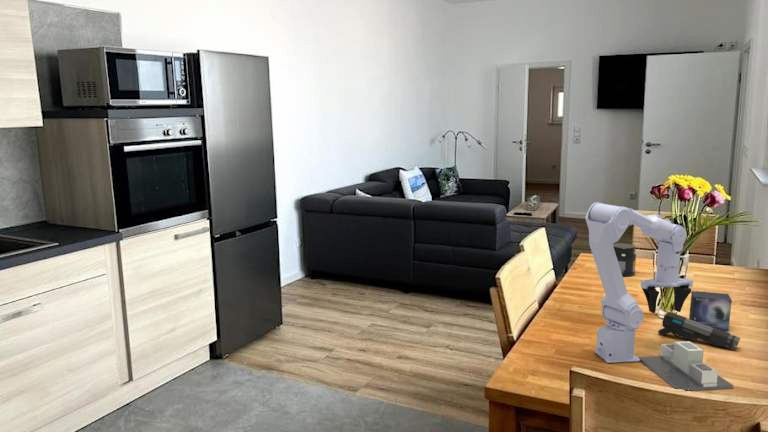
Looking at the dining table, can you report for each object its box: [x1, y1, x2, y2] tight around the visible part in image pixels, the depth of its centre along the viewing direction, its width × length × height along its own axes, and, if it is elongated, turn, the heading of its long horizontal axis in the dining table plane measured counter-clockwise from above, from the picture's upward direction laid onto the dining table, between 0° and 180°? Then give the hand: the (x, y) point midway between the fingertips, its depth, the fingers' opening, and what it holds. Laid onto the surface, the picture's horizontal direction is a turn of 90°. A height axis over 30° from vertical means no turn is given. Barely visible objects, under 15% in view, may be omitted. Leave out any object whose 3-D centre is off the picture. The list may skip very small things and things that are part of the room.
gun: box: [657, 311, 741, 351], centre depth 174 cm, size 4×20×10 cm, turn 52°
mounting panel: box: [637, 342, 734, 391], centre depth 153 cm, size 14×19×5 cm
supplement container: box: [613, 243, 637, 277], centre depth 248 cm, size 10×10×12 cm
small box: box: [688, 290, 733, 333], centre depth 186 cm, size 11×6×10 cm, turn 70°
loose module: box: [673, 340, 704, 373], centre depth 153 cm, size 4×6×6 cm, turn 6°
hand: (664, 311), depth 170 cm, fingers open, 7 cm apart
